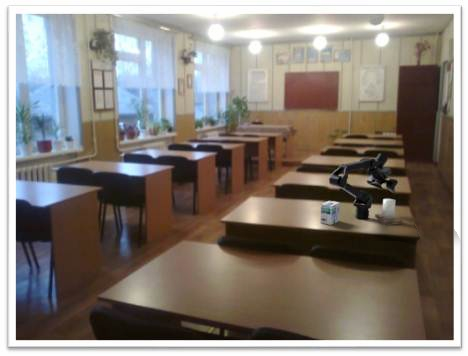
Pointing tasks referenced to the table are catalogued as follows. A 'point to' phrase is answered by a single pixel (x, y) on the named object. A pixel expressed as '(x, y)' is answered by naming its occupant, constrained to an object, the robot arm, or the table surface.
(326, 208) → the light bulb box
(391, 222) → the walnut base block
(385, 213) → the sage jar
